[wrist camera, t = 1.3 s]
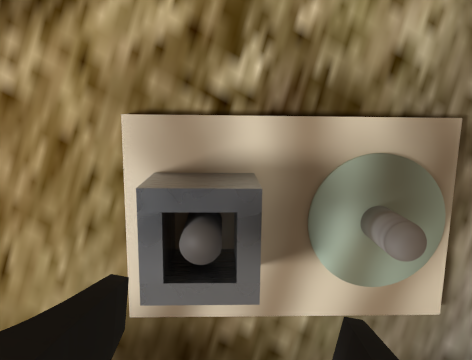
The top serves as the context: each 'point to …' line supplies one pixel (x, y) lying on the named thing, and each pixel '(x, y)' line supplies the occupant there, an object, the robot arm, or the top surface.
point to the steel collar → (170, 259)
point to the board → (310, 207)
